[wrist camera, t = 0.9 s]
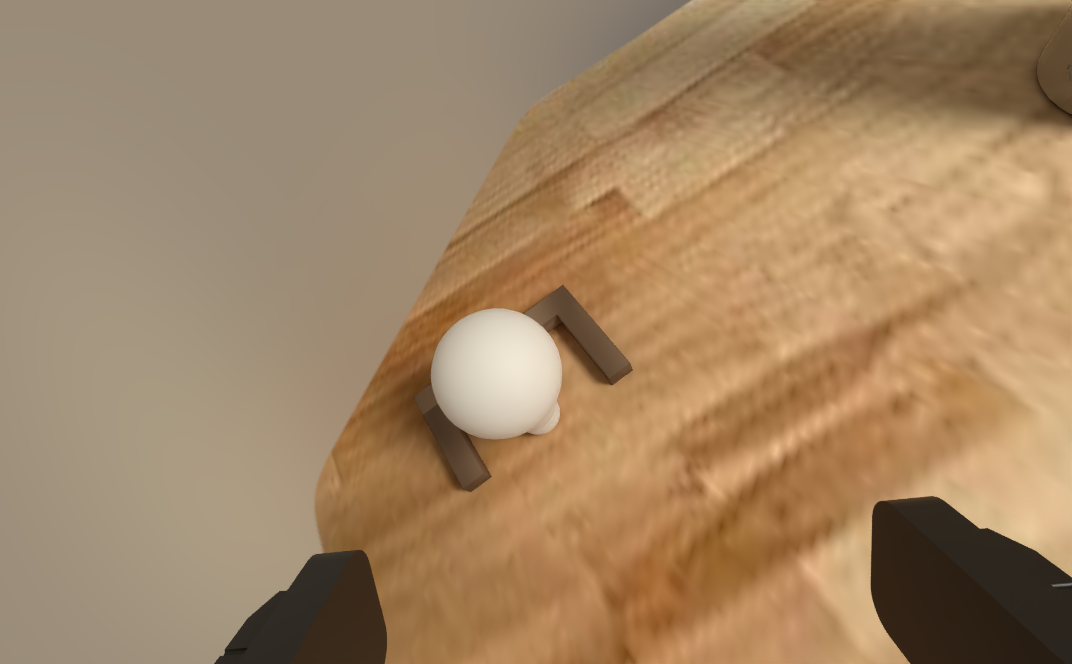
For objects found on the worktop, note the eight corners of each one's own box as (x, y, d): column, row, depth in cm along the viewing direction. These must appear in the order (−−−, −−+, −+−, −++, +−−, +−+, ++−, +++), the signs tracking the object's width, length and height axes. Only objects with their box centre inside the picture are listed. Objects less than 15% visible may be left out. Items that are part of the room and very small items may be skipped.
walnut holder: (567, 293, 34) (562, 284, 33) (632, 370, 31) (630, 362, 30) (422, 402, 34) (412, 397, 33) (471, 491, 31) (463, 488, 29)
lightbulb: (538, 491, 29) (457, 452, 20) (477, 417, 32) (381, 352, 23) (614, 417, 30) (572, 344, 20) (547, 351, 33) (483, 260, 23)
